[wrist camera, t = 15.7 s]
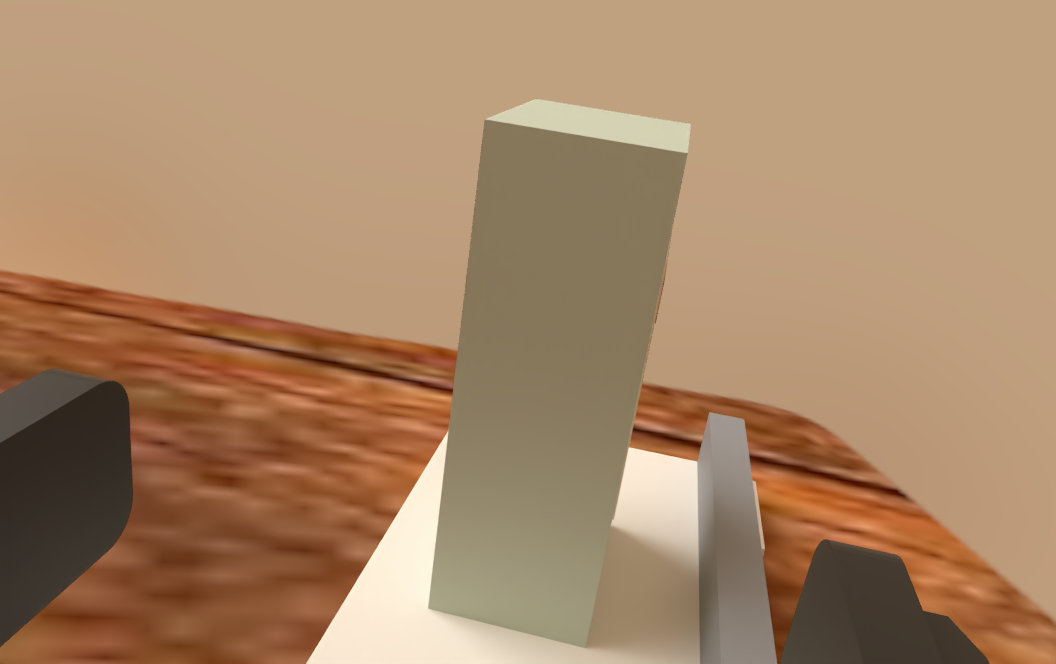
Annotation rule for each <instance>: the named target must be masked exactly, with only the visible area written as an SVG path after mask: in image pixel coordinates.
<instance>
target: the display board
mask: <svg viewBox="0 0 1056 664" xmlns="http://www.w3.org/2000/svg"><path fill="white" fill-rule="evenodd" d="M447 440H448V432H447V434H446V436H445V437H444V439H443V441H442V442H441V444H440V445H439V447H438V449H437V450H436V452H435V454H434V455H433V457H432V459H431V460H430V462H429V463H428V465H427V467H426V468H425V470H424V472H423V473H422V475H421V477H420V478H419V480H418V481H417V483H416V485H415V486H414V488H413V490H412V491H411V493H410V495H409V496H408V498H407V499H406V501H405V503H404V504H403V506H402V508H401V509H400V511H399V513H398V514H397V516H396V518H395V519H394V521H393V522H392V524H391V526H390V527H389V529H388V531H387V532H386V534H385V536H384V537H383V539H382V540H381V542H380V544H379V545H378V547H377V549H376V550H375V552H374V554H373V555H372V557H371V558H370V560H369V562H368V563H367V565H366V567H365V568H364V570H363V572H362V573H361V575H360V576H359V578H358V580H357V581H356V583H355V585H354V586H353V588H352V590H351V591H350V593H349V595H348V596H347V598H346V599H345V601H344V603H343V604H342V606H341V608H340V609H339V611H338V613H337V614H336V616H335V617H334V619H333V621H332V622H331V624H330V626H329V627H328V629H327V631H326V632H325V634H324V635H323V637H322V639H321V640H320V642H319V644H318V645H317V647H316V649H315V650H314V652H313V653H312V655H311V657H310V658H309V660H308V662H307V663H306V664H777V658H776V651H775V644H774V636H773V629H772V621H771V614H770V607H769V599H768V592H767V585H766V577H765V570H764V563H763V555H764V551H765V545H764V538H763V531H762V524H761V517H760V510H759V503H758V496H757V489H756V482H755V481H752V474H751V467H750V460H749V452H748V445H747V438H746V430H745V423H744V419H740V418H735V417H730V416H725V415H720V414H716V413H711V412H709V416H708V420H707V424H706V428H705V432H704V437H703V441H702V445H701V449H700V453H699V457H698V461H697V462H695V461H691V460H686V459H681V458H677V457H672V456H667V455H662V454H658V453H653V452H648V451H644V450H639V449H634V448H629V449H628V454H627V459H626V464H625V468H624V473H623V478H622V483H621V488H620V493H619V497H618V502H617V507H616V512H615V517H614V520H612V522H611V527H610V532H609V537H608V542H607V546H606V551H605V556H604V561H603V566H602V571H601V575H600V580H599V585H598V590H597V595H596V600H595V605H594V609H593V614H592V619H591V624H590V629H589V634H588V638H587V643H586V648H582V647H578V646H575V645H571V644H567V643H563V642H559V641H555V640H551V639H547V638H543V637H539V636H535V635H531V634H527V633H523V632H519V631H515V630H511V629H507V628H503V627H499V626H495V625H491V624H487V623H483V622H479V621H475V620H471V619H467V618H463V617H459V616H455V615H451V614H447V613H443V612H439V611H435V610H431V609H428V603H429V595H430V586H431V578H432V569H433V560H434V552H435V543H436V535H437V526H438V517H439V509H440V500H441V492H442V483H443V474H444V466H445V457H446V448H447Z"/></svg>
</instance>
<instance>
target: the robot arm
mask: <svg viewBox="0 0 1056 664" xmlns="http://www.w3.org/2000/svg"><path fill="white" fill-rule="evenodd" d="M132 500H133V488H132V464H131V440H130V416H129V401H128V396H127V393H126V391H125V389H124V388H123V386H122V385H121V384H119V383H118V382H115V381H111V380H107V379H102V378H98V377H93V376H88V375H84V374H79V373H75V372H70V371H66V370H61V369H49V370H46V371H44V372H41V373H40V374H38V375H36V376H34V377H32V378H30V379H28V380H26V381H24V382H22V383H20V384H19V385H17V386H15V387H13V388H11V389H9V390H7V391H5V392H3V393H1V394H0V647H1V646H2V645H3V644H4V643H5V642H6V641H7V640H9V639H10V638H11V637H12V636H13V635H14V634H15V633H16V632H18V631H19V630H20V629H21V628H22V627H23V626H24V625H25V624H27V623H28V622H29V621H30V620H31V619H32V618H33V617H34V616H36V615H37V614H38V613H39V612H40V611H41V610H42V609H43V608H45V607H46V606H47V605H48V604H49V603H50V602H51V601H52V600H54V599H55V598H56V597H57V596H58V595H59V594H60V593H61V592H63V591H64V590H65V589H66V588H67V587H68V586H69V585H70V584H72V583H73V582H74V581H75V580H76V579H77V578H78V577H79V576H81V575H82V574H83V573H84V572H85V571H86V570H87V569H88V568H90V567H91V566H92V565H93V564H94V563H95V562H96V561H97V560H99V559H100V558H101V557H102V556H103V555H104V554H105V553H106V552H108V551H109V550H110V549H111V548H112V547H113V545H114V544H115V543H116V542H117V540H118V539H119V537H120V536H121V534H122V532H123V530H124V528H125V526H126V524H127V521H128V518H129V515H130V512H131V507H132ZM780 664H989V662H988V660H987V658H986V657H985V656H984V655H983V653H982V652H981V651H980V650H979V649H978V648H977V647H976V646H975V645H974V644H973V643H972V642H971V641H970V640H969V639H968V637H967V636H966V635H965V634H964V633H963V632H962V631H961V630H960V629H959V628H958V627H957V626H956V625H955V624H954V623H953V621H952V620H951V619H950V618H949V617H948V616H943V615H939V614H934V613H930V612H926V611H923V610H922V607H921V605H920V602H919V600H918V597H917V595H916V592H915V590H914V587H913V585H912V582H911V580H910V577H909V575H908V572H907V570H906V567H905V565H904V563H903V561H902V559H901V558H900V557H899V556H898V555H895V554H890V553H886V552H881V551H877V550H872V549H868V548H863V547H858V546H854V545H849V544H845V543H840V542H836V541H831V540H827V539H826V540H823V541H821V542H820V544H819V545H818V547H817V548H816V551H815V553H814V555H813V558H812V561H811V564H810V567H809V571H808V574H807V577H806V580H805V583H804V586H803V589H802V593H801V596H800V599H799V602H798V605H797V608H796V611H795V615H794V618H793V621H792V624H791V627H790V630H789V633H788V637H787V640H786V643H785V646H784V649H783V653H782V656H781V660H780Z"/></svg>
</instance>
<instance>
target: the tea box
mask: <svg viewBox="0 0 1056 664" xmlns="http://www.w3.org/2000/svg"><path fill="white" fill-rule="evenodd" d="M690 126H691V125H690V124H687V123H680V122H674V121H668V120H662V119H655V118H649V117H644V116H637V115H631V114H625V113H619V112H613V111H607V110H601V109H595V108H588V107H582V106H576V105H570V104H564V103H558V102H552V101H545V100H539V99H535V100H532V101H530V102H527V103H525V104H522V105H520V106H517V107H515V108H512V109H509V110H507V111H504V112H502V113H499V114H497V115H494V116H492V117H489V118H487V119H485V122H484V130H483V139H482V147H481V156H480V164H479V174H478V182H477V190H476V199H475V208H474V216H473V225H472V233H471V242H470V251H469V259H468V268H467V276H466V285H465V294H464V302H463V311H462V320H461V328H460V337H459V345H458V354H457V362H456V371H455V380H454V388H453V397H452V405H451V414H450V423H449V431H448V440H447V448H446V457H445V466H444V474H443V483H442V492H441V500H440V509H439V517H438V526H437V535H436V543H435V552H434V560H433V569H432V578H431V586H430V595H429V603H428V609H431V610H435V611H439V612H443V613H447V614H451V615H455V616H459V617H463V618H467V619H471V620H475V621H479V622H483V623H487V624H491V625H495V626H499V627H503V628H507V629H511V630H515V631H519V632H523V633H527V634H531V635H535V636H539V637H543V638H547V639H551V640H555V641H559V642H563V643H567V644H571V645H575V646H578V647H582V648H586V643H587V638H588V634H589V629H590V624H591V619H592V614H593V609H594V605H595V600H596V595H597V590H598V585H599V580H600V575H601V571H602V566H603V561H604V556H605V551H606V546H607V542H608V537H609V532H610V527H611V522H612V520H614V517H615V512H616V507H617V502H618V497H619V493H620V488H621V483H622V478H623V473H624V468H625V464H626V459H627V454H628V449H629V444H630V439H631V435H632V430H633V425H634V420H635V415H636V411H637V406H638V401H639V396H640V391H641V386H642V382H643V377H644V372H645V367H646V362H647V358H648V352H649V348H650V343H651V338H652V333H653V329H654V324H655V323H656V319H657V314H658V309H659V304H660V300H661V295H662V290H663V285H664V280H665V274H666V267H667V261H668V255H669V248H670V241H671V234H672V227H673V222H674V217H675V212H676V207H677V202H678V198H679V193H680V188H681V183H682V178H683V173H684V168H685V164H686V159H687V154H688V146H689V137H690V128H691V127H690Z"/></svg>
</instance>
